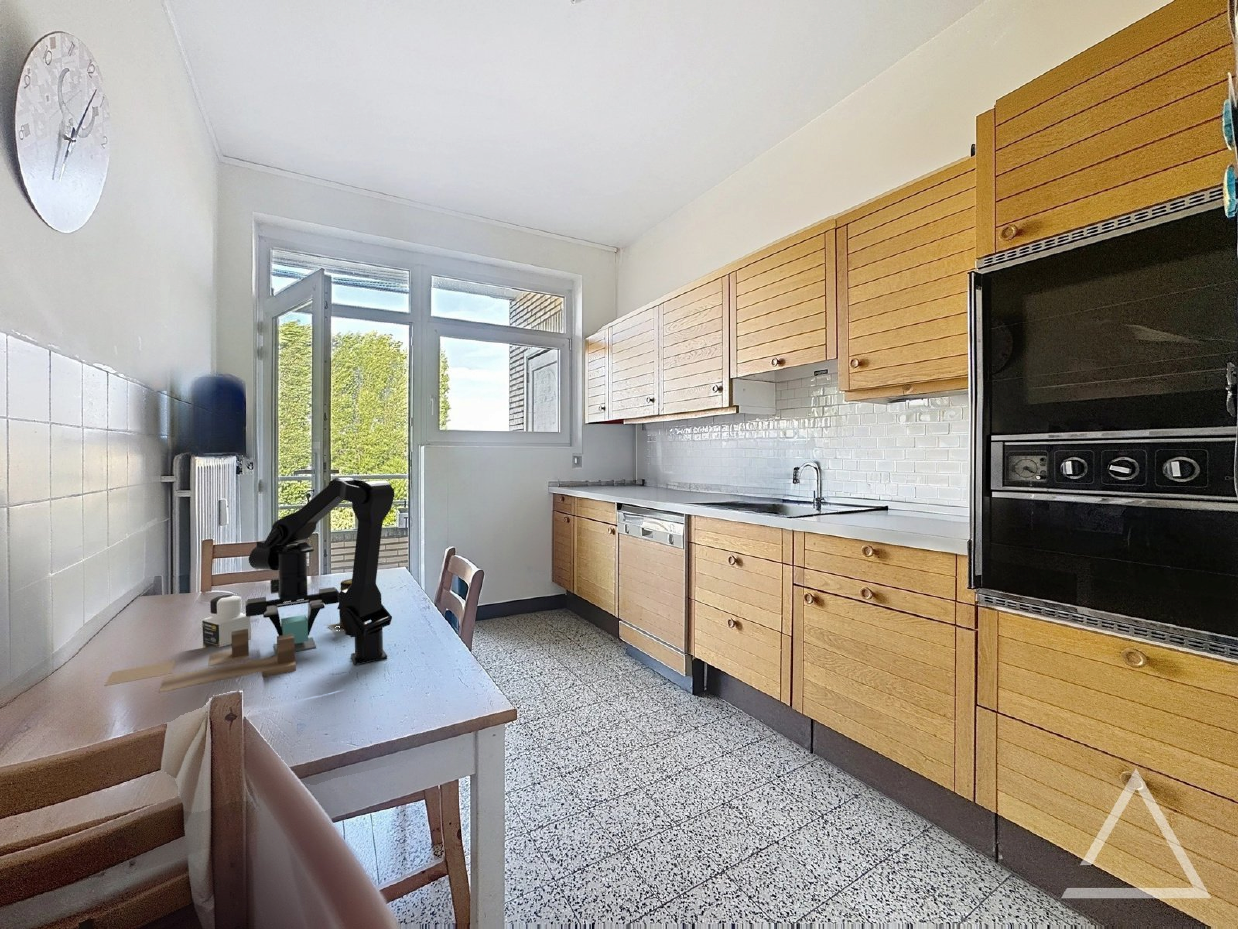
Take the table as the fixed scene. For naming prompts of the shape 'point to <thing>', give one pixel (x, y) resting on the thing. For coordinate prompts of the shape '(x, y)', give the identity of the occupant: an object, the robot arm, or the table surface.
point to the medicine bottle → (224, 621)
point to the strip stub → (233, 649)
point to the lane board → (140, 673)
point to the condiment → (344, 586)
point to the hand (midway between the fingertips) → (294, 637)
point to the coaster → (301, 645)
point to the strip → (239, 667)
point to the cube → (295, 627)
